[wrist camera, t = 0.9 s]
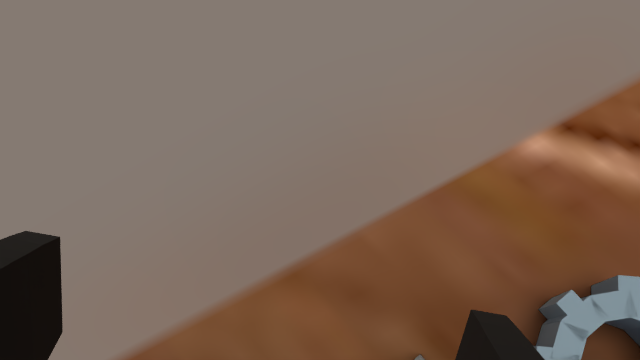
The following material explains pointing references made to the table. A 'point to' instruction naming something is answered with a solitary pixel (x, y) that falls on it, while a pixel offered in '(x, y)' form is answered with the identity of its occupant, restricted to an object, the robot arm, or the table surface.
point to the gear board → (419, 357)
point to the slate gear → (588, 317)
